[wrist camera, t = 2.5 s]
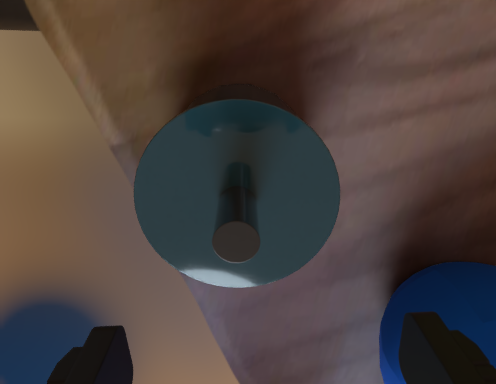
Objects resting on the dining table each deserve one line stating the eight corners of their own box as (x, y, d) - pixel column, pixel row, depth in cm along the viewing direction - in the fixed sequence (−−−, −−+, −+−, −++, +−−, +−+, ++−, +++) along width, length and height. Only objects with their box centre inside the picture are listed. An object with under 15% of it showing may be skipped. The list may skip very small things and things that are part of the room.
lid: (153, 281, 28) (130, 344, 22) (122, 100, 23) (81, 121, 17) (331, 274, 28) (354, 335, 22) (342, 91, 23) (375, 109, 17)
